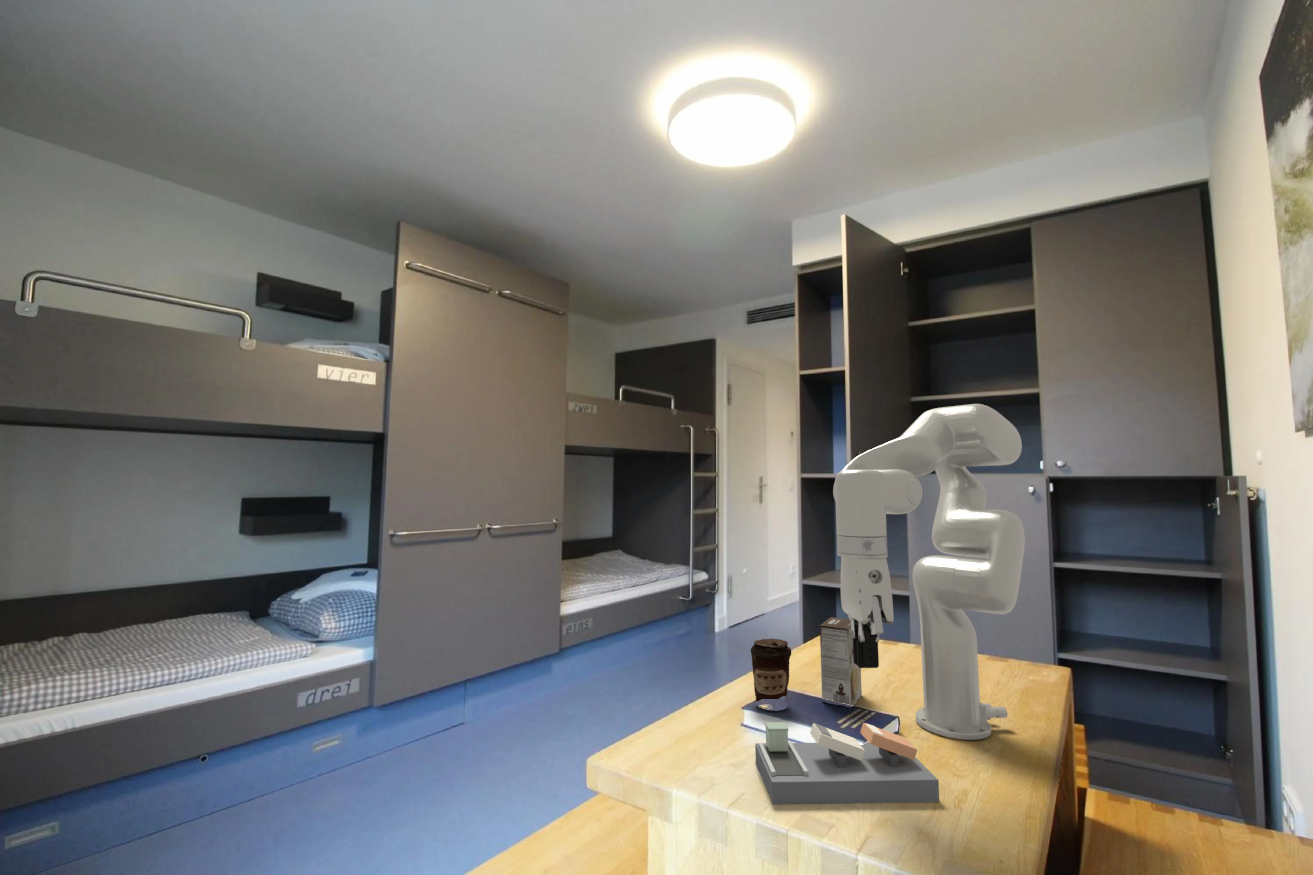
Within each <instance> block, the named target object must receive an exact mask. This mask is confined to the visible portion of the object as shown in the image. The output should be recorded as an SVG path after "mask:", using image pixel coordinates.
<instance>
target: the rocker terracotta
mask: <svg viewBox="0 0 1313 875" xmlns="http://www.w3.org/2000/svg"><path fill="white" fill-rule="evenodd" d="M860 734H861V735H862V737H863V738H864V739H865V740H866V742H869V743H870V744H872V745H874V746H877V747H880V748H883V749H885V750H888V751H891V752H893V753H896V754H899V755H902V756H904V757H907V758H910V759H912V760H915V757H916V756H917V752H918V749H917V748H916V747H915V746H914V745H913V744H912V743H911V742H910V741H909V740H908V739H907V738H906V737H903V736H901V735H898V734H896V733H893V732H890V731H887V730H885V729H882V728H879V727H878V726H877V727H876V725H872V724H869V723H865V722H862V725H861V729H860Z"/></svg>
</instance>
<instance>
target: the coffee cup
mask: <svg viewBox="0 0 1313 875" xmlns="http://www.w3.org/2000/svg"><path fill="white" fill-rule="evenodd" d="M753 642H754V643H753V645H752V646H751V648H750V654H751V663H752V664H751V666H752V674H753V686H754V696H755V702H756V701H759V700H761V699H779V698H780V697H782V696H786V697H787V695H788V686H789V683H790V682H789V680H790V659H791V656H792V649H791V647H790V646H788V644H789V642H788V641H787V640H782V639H777V638H762V639H758V640H754V641H753Z"/></svg>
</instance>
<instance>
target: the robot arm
mask: <svg viewBox="0 0 1313 875" xmlns="http://www.w3.org/2000/svg"><path fill="white" fill-rule="evenodd" d="M1022 443H1023V442H1022V438H1021V435H1020V433H1019V431H1018V429H1017V427H1015V425H1013V423H1011V421H1009V420H1008V419H1007V418H1005V417H1004V416H1003V415H1002V414H1001V413H1000V412H998V411H997V410H995V409H994V408H992V407H990V406H988V405H984V404H983V403H982V404H981V403H971V404H961V405H954V406H953V405H952V406H943V407H937V408H932V409H929V410H926V411H924V412H922V414H921V415H920V416H918V418H916V420H914V422H913V423H912V424H910V426H909V427H908V428H907V429H906V430H905V431H904V432H903V433H902V434H901V435H900V436H899V437H897V438H894V439H892V440H890V441H888V442H887V441H886V442H885V443H883V444H880V445H878V446H876V447H874V448H872V449H868V450H867V451H865V452H863V453H861V454H859V455H857V456H856V457H854V458H853V459H852V460H850V461H849V462H848V463H847V464H846V465H845V467H844V468H842V470H840V471H839V472H838V473H836V475H835V480H834V484H833V486H832V487H833V488H832V490H833V491H832V494H833V498H834V501H835V521H836V524H835V525H836V553H837V554H836V555H837V556H838V557H841V560H840V586H839V587H840V604H841V609H842V611H843V612H844V613H845V614H846V615H847V617H848V619H850V620H851V628H852V636H853V637H856V638H853V659H854V663H855V664H856V665H857V666H858V667H859V668H861V669H878V668H879V666H880V665H879V664H880V663H879V662H880V661H879V643H880V635H883V634H884V628H883V623H884V624H886V625H892V623H894V621H895V620H894V619H895V618H894V615H895V614H894V605H893V602H894V600H893V594H892V593H893V592H892V583H891V574H890V570H889V565H888V561H887V558H888V536H887V533H888V532H887V531H888V530H887V515H905V514H908V513H911V512H912V511H914V510H915V509H917V508H918V507H919V505H920V504H921V502H922V499H923V486H922V484H921V482H920V480H919V477H923V476H926V475H929V474H932V473H933V472H934V471H935V474H936V476H937V480H938V481H939V487H940V491H939V498H938V503H937V507H936V511H935V515H934V518H933V519H934V520H933V525H932V530H931V541H932V545H933V547H934V548H935V549H936V550H937V551H939V552H941V553H943V554H946V555H937V554H936V555H927V556H924V557H922V558H919V559H918V561H917V562H916V563H915V565H914V566H913V569H912V584H913V588H914V592H915V596H916V601H917V608H918V612H919V613H918V615H919V624H920V625H919V628H920V644H921V645H920V647H921V648H920V649H921V668H922V670H921V671H922V672H921V673H922V688H923V689H922V690H923V691H922V692H923V708H920V709H918V710H917V711H916V712H915V721H916V722H917V724H919V726H920V727H921V728H923V729H925V730H927V731H929V732H931V733H934V734H935V735H939V736H941V737H942V736H943V737H946V738H950V739H956V740H963V741H964V740H966V741H974V740H975V741H977V740H985V739H986V738H989V736H991V734H992V726H991V724H990V722H989V721H990V720H991V719H992V718H994V719H1007V718H1008V711H1007V709H1006V707H1005V706H992V705H991V703H989V702H988V703H984V702H982V701H981V693H980V692H981V691H980V680H979V679H980V676H979V658H978V638H977V632H976V629H975V627H974V624H973V623H972V621H971V620H970V617H968V615H967V614H966V613H965V611H964V610H966V611H967V610H968V611H974V612H980V613H988V614H995V615H1005V614H1006V615H1007V614H1009V613H1010V612H1012V611H1013V609H1014V608H1015V606H1016V603H1017V600H1018V596H1019V590H1020V583H1021V576H1022V574H1021V573H1022V568H1023V562H1024V554H1025V546H1026V535H1025V529H1024V526H1023V523H1022V520H1021V519H1020V517H1019V516H1018V515H1017V514H1015V513H1013V512H1012V511H1009V510H1004V509H998V508H997V509H996V508H993V509H992V508H991V509H990V508H986V505H987V504H986V503H987V499H988V498H987V497H988V493H987V490H986V488H985V487H984V485H983V484H982V483H981V481H979V479H978V478H977V477H976V476H975V475H973V474H972V473H971V472H970V471H969V470H968V468H967V467H982V466H983V467H989V466H1006V465H1011V464H1013V463H1015V462H1016V461H1017V460H1018V459H1019V458H1020V456H1021V454H1022V448H1023V444H1022Z"/></svg>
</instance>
